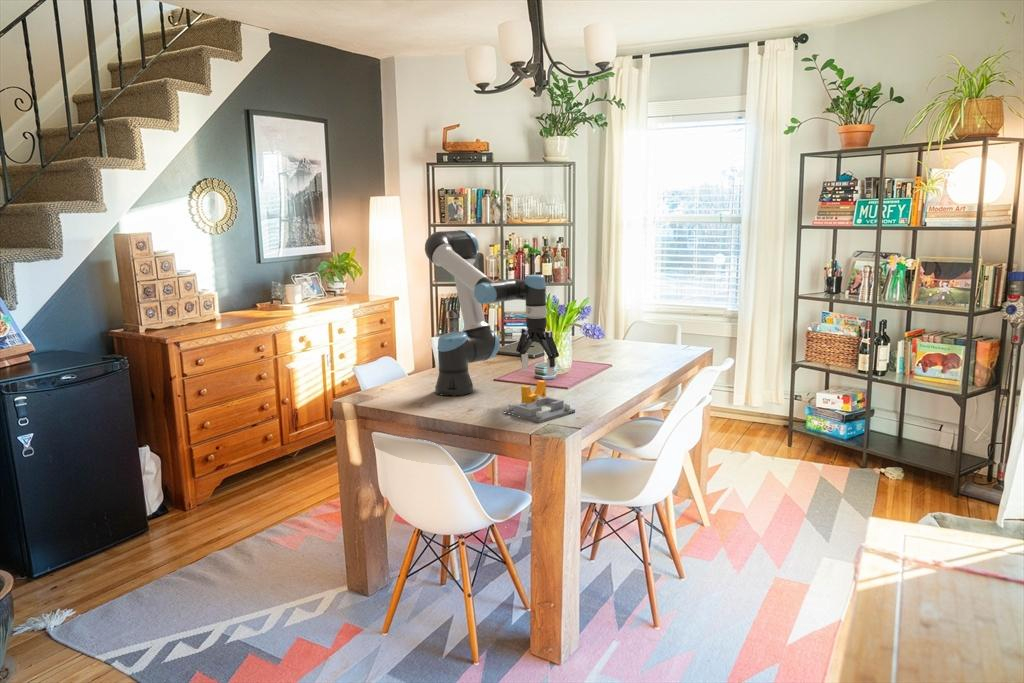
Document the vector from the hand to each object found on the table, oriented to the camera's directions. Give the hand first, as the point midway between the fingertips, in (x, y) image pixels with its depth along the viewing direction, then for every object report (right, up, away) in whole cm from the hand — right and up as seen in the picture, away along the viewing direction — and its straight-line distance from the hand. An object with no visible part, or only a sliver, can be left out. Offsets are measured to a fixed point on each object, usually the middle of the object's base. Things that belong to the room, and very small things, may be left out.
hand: (537, 373), depth 271 cm
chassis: (0, -13, -14) cm, 19 cm away
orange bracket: (-1, -11, +3) cm, 11 cm away
